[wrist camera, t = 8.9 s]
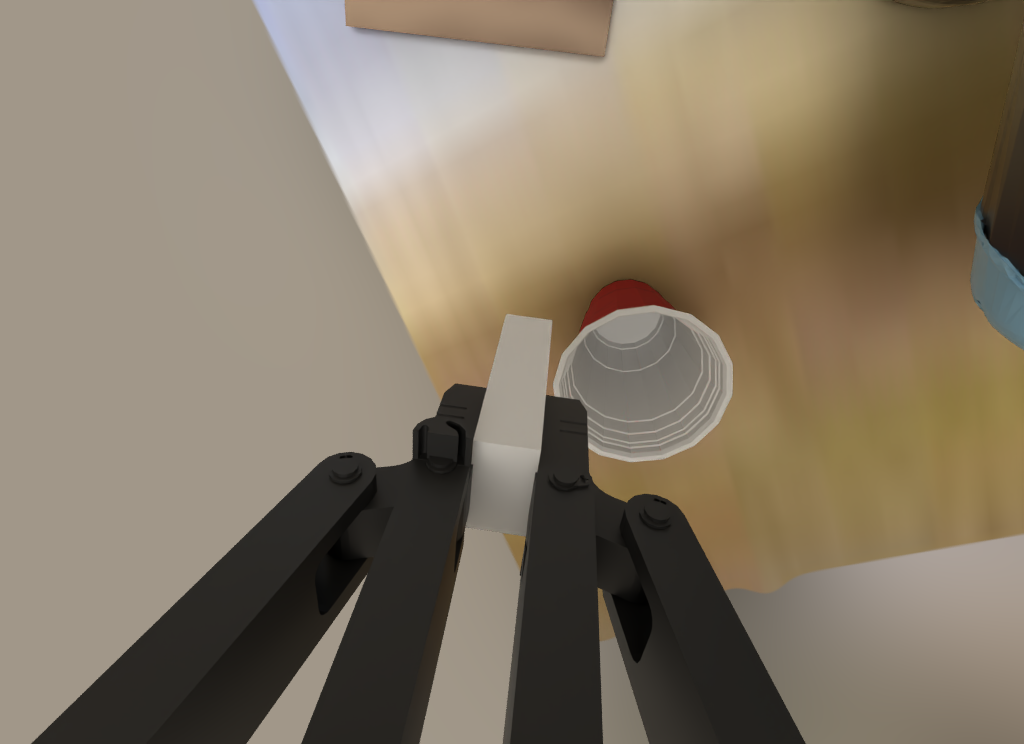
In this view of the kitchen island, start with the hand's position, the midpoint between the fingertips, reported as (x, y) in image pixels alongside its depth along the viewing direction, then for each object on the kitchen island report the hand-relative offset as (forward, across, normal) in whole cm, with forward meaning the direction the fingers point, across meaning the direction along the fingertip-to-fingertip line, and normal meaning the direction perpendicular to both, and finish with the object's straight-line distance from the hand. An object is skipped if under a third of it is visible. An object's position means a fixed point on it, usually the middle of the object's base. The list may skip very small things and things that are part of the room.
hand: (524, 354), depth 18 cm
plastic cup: (+25, +7, -9) cm, 27 cm away
